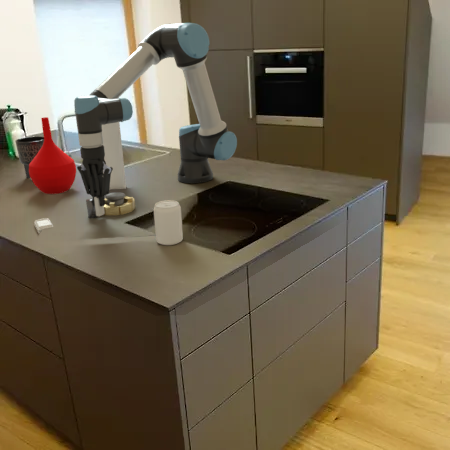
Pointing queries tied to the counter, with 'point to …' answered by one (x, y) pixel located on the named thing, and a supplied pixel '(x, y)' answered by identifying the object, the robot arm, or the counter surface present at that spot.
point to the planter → (28, 150)
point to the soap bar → (42, 224)
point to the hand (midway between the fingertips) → (100, 214)
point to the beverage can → (168, 222)
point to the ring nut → (112, 207)
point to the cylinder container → (114, 154)
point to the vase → (51, 166)
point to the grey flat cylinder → (115, 198)
